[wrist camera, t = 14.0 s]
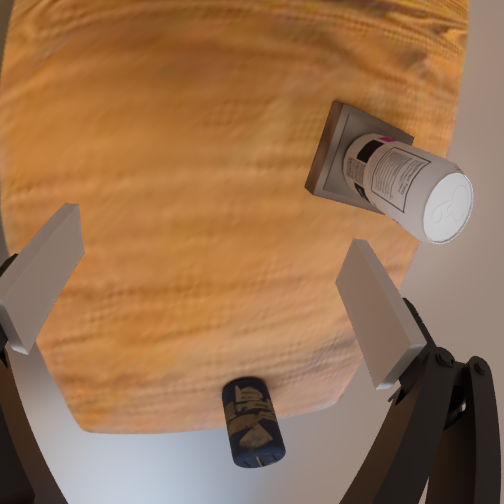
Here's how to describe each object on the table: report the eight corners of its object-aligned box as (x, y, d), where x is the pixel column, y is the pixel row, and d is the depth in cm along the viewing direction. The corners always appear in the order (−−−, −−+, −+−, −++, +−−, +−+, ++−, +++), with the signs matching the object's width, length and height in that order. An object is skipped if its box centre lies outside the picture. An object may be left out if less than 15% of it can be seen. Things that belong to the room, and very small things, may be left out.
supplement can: (386, 124, 33) (475, 155, 20) (397, 181, 38) (475, 230, 25) (333, 144, 33) (414, 183, 21) (349, 203, 38) (420, 264, 25)
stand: (332, 101, 34) (345, 103, 31) (401, 133, 37) (415, 137, 35) (304, 187, 39) (313, 195, 36) (374, 207, 43) (386, 216, 40)
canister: (267, 372, 57) (291, 451, 41) (265, 397, 62) (286, 468, 46) (218, 379, 55) (233, 462, 40) (222, 403, 60) (236, 477, 45)
